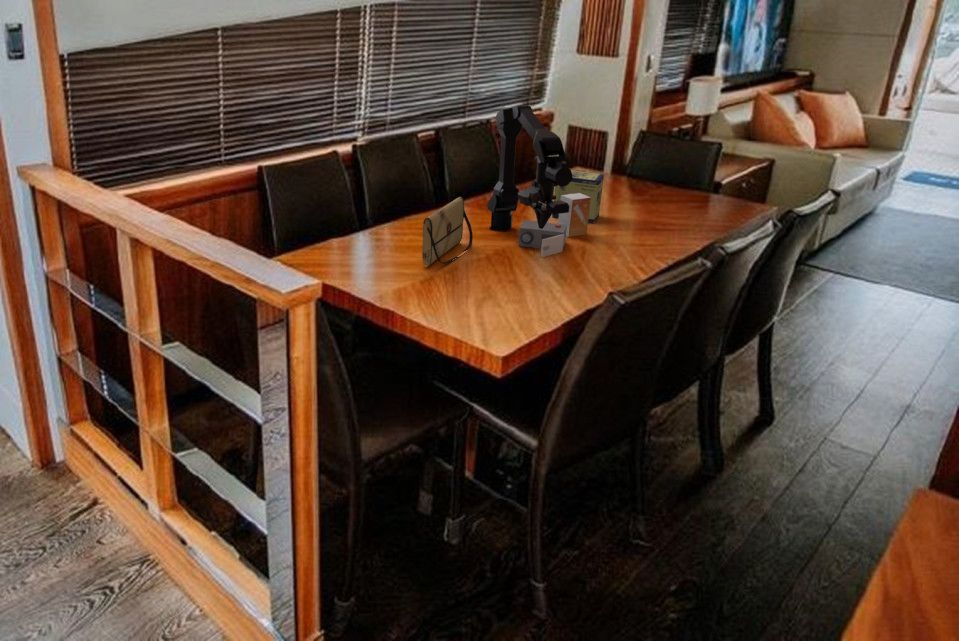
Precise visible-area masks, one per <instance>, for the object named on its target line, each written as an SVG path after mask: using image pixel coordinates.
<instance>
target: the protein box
mask: <svg viewBox="0 0 959 641" xmlns="http://www.w3.org/2000/svg"><path fill="white" fill-rule="evenodd" d="M571 172H572V180H571V182H570V183H569V184H568V185H567V186H564V187H561V186H559V185H557V186H554V195H555V196H556V199H555V200H553V201H559V200H561V195H568V194H576V193H581V194H583V195H586V196H588V197H591V201H590V209H589V218H588V223H589V224H595V222H596V221H597V219H598V218H599V216H600V210H601V204H602V193H603V187H604V177H605V175H604V174H602V173H593V172H585V171H578V170H571ZM551 218H555V219H559V214H552V215H551Z"/></svg>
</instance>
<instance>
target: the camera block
mask: <svg viewBox="0 0 959 641" xmlns="http://www.w3.org/2000/svg"><path fill="white" fill-rule="evenodd" d="M566 230H567V225H565V224H558V223H557V222H556V223H555V222H547V223H546V225H545V226H544V228H543V229H540V228H539V226H538V221H537V220H536V221H535V220H527V219H524V220H522V222H521V225H520V226H519V229H518V244H517V246H518V245H519V246H518V247H527V248H533V249H534V248H535V249H541V246H542V239H546V238H550V237H554V236H558V235H562V234H564V235H565V236H564V246H563V248H564V247H565V244H566V240H567V239H566Z"/></svg>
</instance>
